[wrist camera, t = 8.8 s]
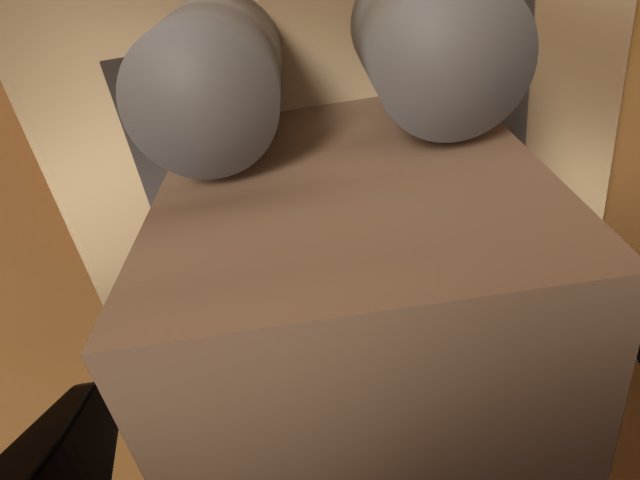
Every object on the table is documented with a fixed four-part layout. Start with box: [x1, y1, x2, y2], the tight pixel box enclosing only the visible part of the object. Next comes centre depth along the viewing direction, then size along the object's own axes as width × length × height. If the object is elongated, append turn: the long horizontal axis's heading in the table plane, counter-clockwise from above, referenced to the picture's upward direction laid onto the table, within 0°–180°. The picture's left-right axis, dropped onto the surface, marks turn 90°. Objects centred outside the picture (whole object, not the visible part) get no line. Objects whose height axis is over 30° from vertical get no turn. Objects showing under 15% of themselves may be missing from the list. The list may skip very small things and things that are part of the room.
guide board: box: [0, 0, 637, 306], centre depth 12 cm, size 17×11×4 cm, turn 8°
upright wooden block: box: [81, 96, 640, 480], centre depth 9 cm, size 7×5×6 cm
